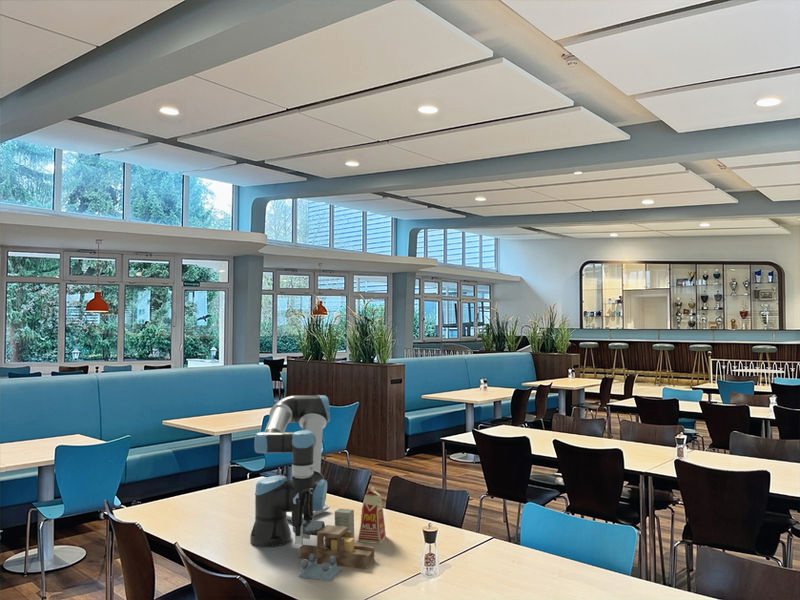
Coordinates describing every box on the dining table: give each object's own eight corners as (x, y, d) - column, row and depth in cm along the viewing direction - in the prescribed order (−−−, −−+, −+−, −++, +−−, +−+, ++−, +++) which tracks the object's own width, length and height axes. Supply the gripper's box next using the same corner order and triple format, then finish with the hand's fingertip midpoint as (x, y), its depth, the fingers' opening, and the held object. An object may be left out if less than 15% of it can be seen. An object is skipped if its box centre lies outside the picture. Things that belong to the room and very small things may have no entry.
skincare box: (354, 542, 238) (354, 509, 238) (350, 546, 234) (350, 512, 234) (339, 540, 240) (339, 507, 240) (334, 544, 236) (334, 511, 236)
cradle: (298, 576, 206) (298, 561, 206) (310, 566, 214) (310, 551, 215) (330, 580, 203) (330, 565, 203) (340, 570, 211) (340, 555, 211)
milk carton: (380, 543, 237) (381, 489, 237) (357, 541, 238) (357, 488, 239) (386, 535, 245) (386, 483, 246) (363, 533, 247) (363, 482, 248)
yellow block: (330, 551, 219) (330, 539, 219) (335, 547, 223) (335, 536, 223) (349, 553, 217) (349, 541, 217) (354, 549, 221) (354, 538, 221)
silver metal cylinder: (292, 535, 223) (292, 520, 224) (299, 530, 228) (299, 516, 228) (318, 538, 220) (318, 523, 220) (324, 533, 225) (324, 519, 225)
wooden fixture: (295, 559, 220) (295, 529, 221) (306, 551, 228) (306, 522, 229) (366, 568, 213) (366, 537, 213) (374, 559, 221) (374, 529, 221)
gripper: (301, 483, 215) (300, 552, 215) (323, 470, 233) (322, 533, 232) (281, 481, 218) (280, 549, 217) (304, 468, 235) (304, 531, 235)
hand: (302, 541), depth 225 cm, fingers closed on silver metal cylinder, 5 cm apart
